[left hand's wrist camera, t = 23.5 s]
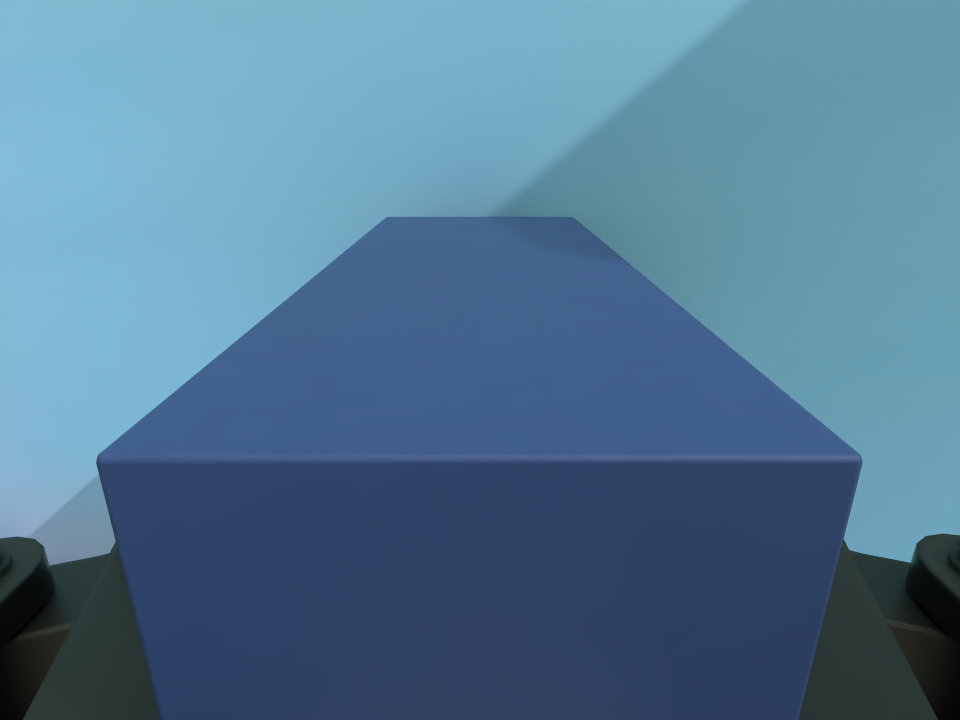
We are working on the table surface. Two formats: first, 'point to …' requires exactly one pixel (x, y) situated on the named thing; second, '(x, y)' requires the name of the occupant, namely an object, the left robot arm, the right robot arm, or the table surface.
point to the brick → (479, 499)
